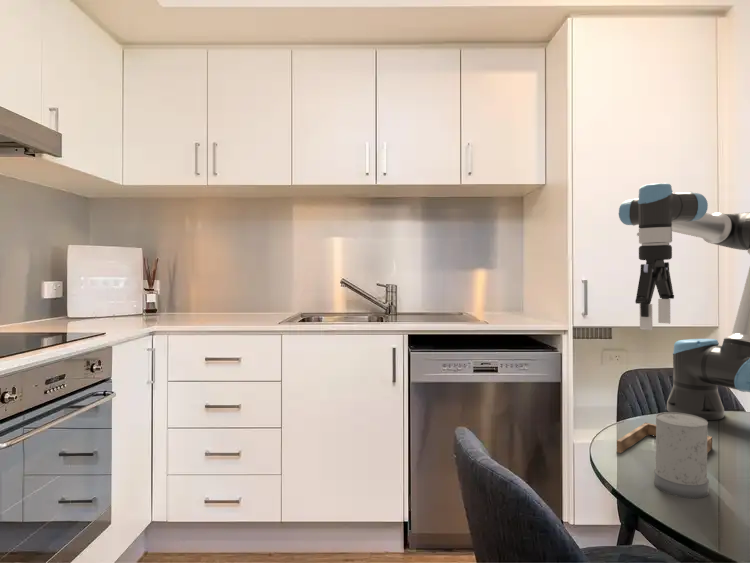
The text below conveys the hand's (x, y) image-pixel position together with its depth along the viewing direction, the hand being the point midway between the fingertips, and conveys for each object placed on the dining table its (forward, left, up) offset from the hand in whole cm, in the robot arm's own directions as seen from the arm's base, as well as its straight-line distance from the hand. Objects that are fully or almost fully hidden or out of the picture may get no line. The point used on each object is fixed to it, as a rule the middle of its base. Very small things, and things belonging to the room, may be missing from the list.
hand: (655, 326), depth 131 cm
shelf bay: (+3, +3, -31) cm, 31 cm away
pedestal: (+22, +13, -31) cm, 40 cm away
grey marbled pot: (+22, +13, -29) cm, 39 cm away
